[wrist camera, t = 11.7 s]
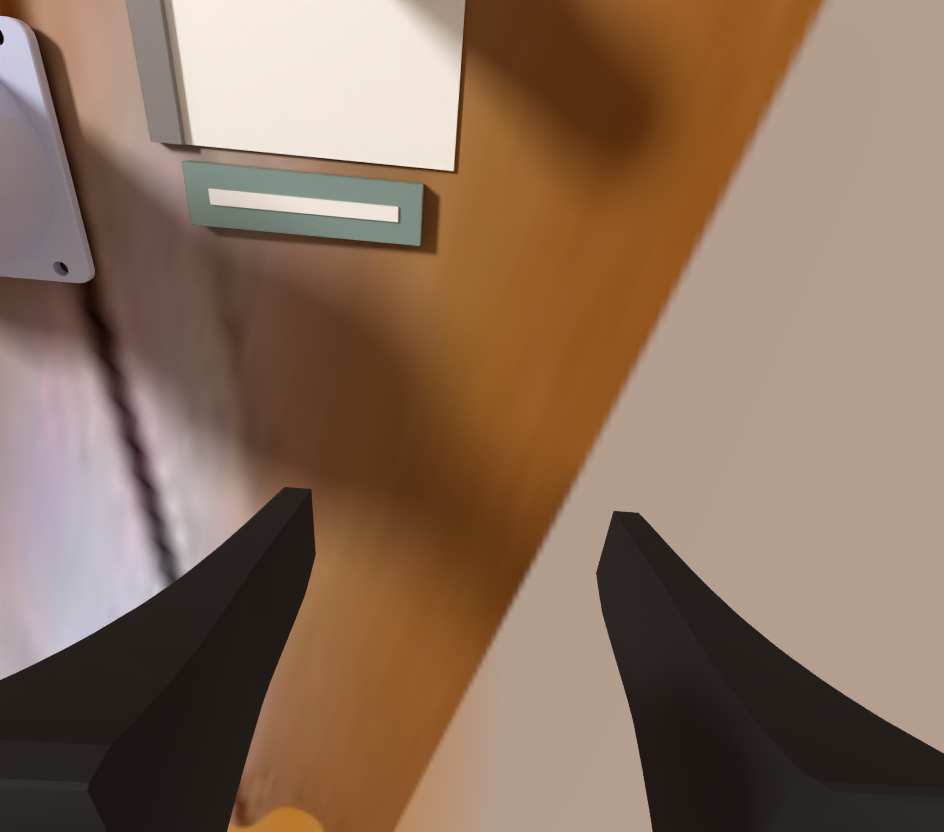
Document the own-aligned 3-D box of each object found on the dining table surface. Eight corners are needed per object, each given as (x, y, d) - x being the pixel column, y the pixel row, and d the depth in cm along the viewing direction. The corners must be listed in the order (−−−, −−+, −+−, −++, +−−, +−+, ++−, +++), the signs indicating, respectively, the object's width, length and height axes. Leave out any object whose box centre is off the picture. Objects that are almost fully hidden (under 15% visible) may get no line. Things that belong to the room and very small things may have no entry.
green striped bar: (198, 221, 19) (190, 224, 19) (189, 160, 18) (180, 161, 18) (421, 242, 20) (419, 246, 19) (424, 183, 19) (422, 185, 18)
